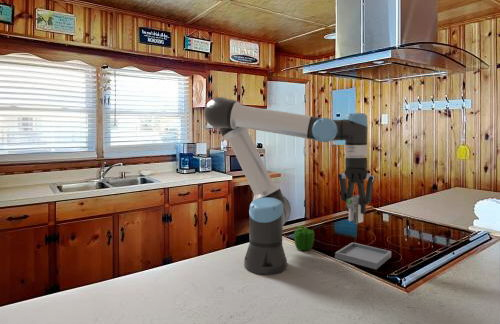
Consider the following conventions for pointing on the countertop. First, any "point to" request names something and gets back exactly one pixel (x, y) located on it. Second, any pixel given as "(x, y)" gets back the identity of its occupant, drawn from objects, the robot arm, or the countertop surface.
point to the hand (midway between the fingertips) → (355, 221)
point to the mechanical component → (354, 207)
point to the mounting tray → (363, 255)
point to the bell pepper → (304, 238)
